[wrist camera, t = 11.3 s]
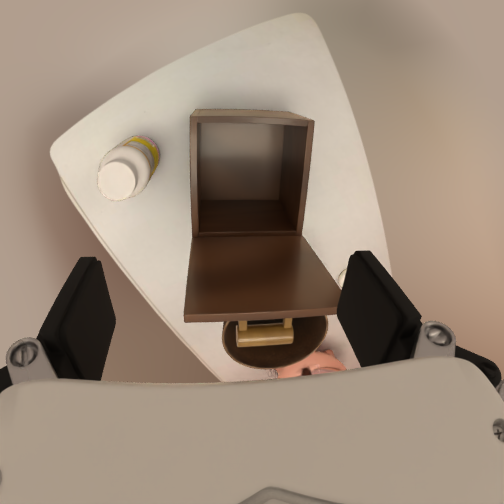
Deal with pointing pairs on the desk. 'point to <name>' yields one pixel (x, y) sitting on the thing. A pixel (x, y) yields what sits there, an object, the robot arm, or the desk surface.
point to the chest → (249, 172)
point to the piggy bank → (312, 365)
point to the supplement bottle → (127, 168)
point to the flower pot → (277, 356)
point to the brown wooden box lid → (257, 285)
